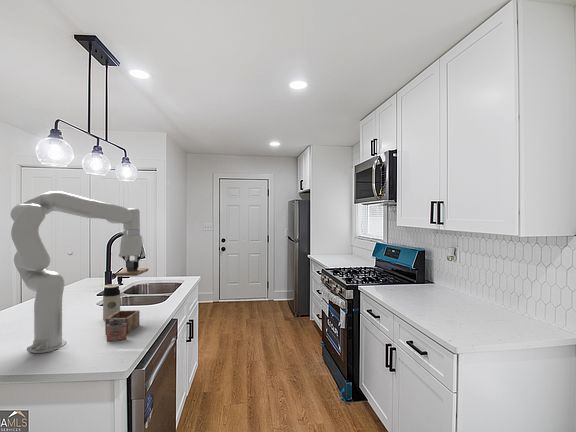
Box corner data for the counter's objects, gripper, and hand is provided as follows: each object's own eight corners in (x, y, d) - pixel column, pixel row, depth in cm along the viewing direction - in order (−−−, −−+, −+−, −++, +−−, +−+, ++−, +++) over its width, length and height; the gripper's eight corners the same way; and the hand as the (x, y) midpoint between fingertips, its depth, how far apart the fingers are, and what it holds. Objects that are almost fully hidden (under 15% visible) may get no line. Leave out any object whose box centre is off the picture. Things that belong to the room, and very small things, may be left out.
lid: (137, 275, 165) (136, 263, 165) (115, 275, 165) (114, 263, 165) (148, 270, 179) (148, 258, 179) (128, 270, 179) (127, 259, 178)
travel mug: (105, 318, 181) (105, 284, 181) (121, 317, 183) (121, 283, 183) (101, 322, 173) (101, 287, 173) (118, 321, 175) (118, 286, 175)
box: (127, 336, 154) (127, 318, 154) (105, 336, 154) (105, 318, 154) (139, 326, 167) (139, 310, 167) (118, 326, 167) (118, 310, 167)
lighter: (105, 344, 145) (105, 320, 145) (107, 341, 148) (107, 318, 148) (125, 342, 147) (125, 319, 147) (127, 339, 150) (127, 316, 150)
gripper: (111, 233, 168) (112, 270, 168) (145, 233, 168) (145, 270, 168) (119, 232, 175) (119, 268, 175) (151, 232, 175) (151, 267, 176)
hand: (132, 268), depth 172 cm, fingers closed on lid, 3 cm apart
